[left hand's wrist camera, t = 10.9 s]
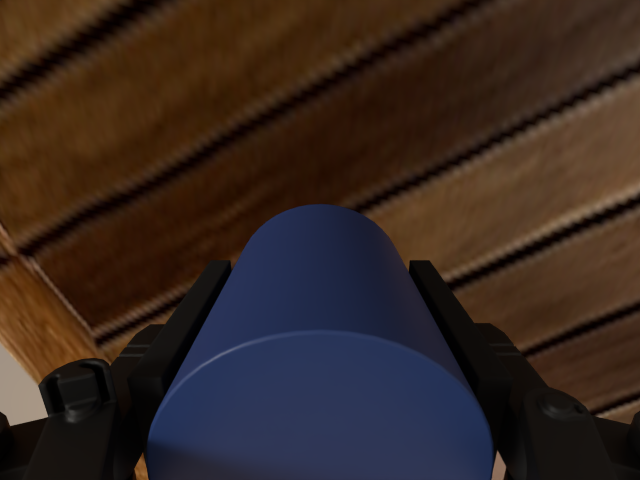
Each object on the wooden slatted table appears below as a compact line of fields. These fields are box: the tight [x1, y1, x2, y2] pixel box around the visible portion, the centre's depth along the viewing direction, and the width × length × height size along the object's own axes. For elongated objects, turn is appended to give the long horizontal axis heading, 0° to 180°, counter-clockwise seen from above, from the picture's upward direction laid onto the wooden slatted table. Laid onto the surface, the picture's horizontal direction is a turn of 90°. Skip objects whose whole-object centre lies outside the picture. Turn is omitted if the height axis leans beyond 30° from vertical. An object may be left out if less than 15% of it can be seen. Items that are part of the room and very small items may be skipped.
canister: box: [146, 204, 494, 480], centre depth 11 cm, size 7×7×9 cm
